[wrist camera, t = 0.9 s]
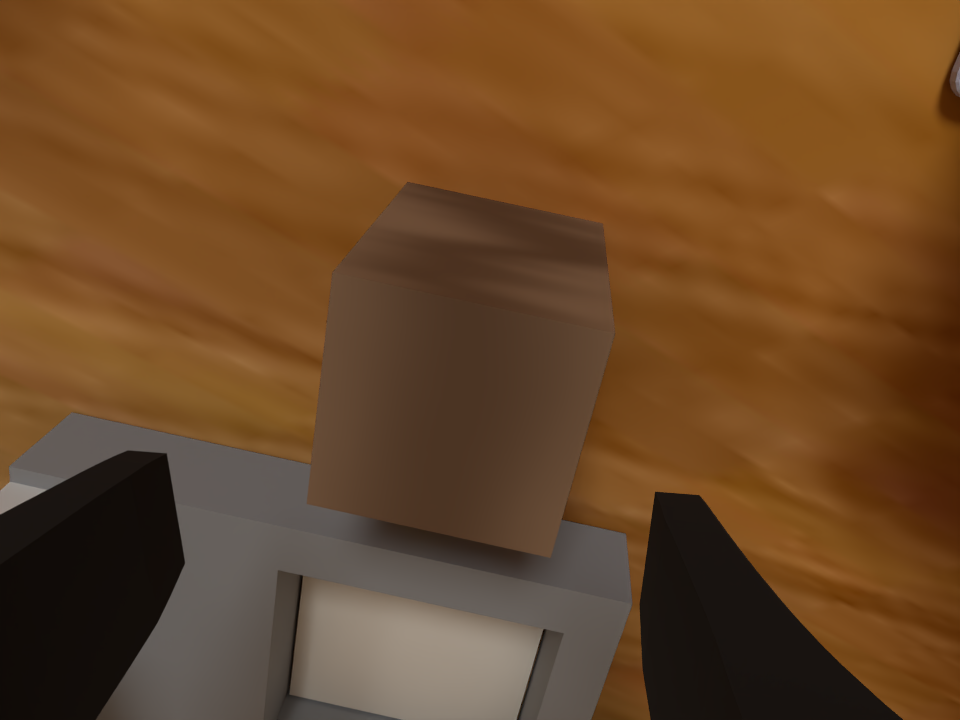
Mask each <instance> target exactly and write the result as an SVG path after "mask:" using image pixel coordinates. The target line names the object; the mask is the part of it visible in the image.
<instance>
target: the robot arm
mask: <svg viewBox="0 0 960 720" xmlns="http://www.w3.org/2000/svg"><path fill="white" fill-rule="evenodd" d="M950 86H951V90H952V91H953V92H954V93H955V95H956V96H958V97H960V53H959V55H958V57H957V60H956V62H955V64H954V67H953V69H952V72H951V76H950ZM184 565H185V558H184V552H183V546H182V540H181V535H180V529H179V523H178V517H177V511H176V505H175V499H174V493H173V487H172V481H171V475H170V469H169V463H168V457H167V453H157V452H144V451H131V450H127V451H125V452H123V453H120V454H118V455H115V456H113V457H111V458H109V459H107V460H105V461H102V462H100V463H98V464H96V465H94V466H92V467H90V468H88V469H86V470H84V471H82V472H80V473H79V474H77V475H75V476H73V477H71V478H69V479H67V480H65V481H63V482H61V483H59V484H57V485H56V486H54V487H52V488H50V489H48V490H46V491H44V492H42V493H40V494H38V495H36V496H35V497H33V498H31V499H29V500H27V501H25V502H23V503H21V504H19V505H17V506H15V507H13V508H11V509H10V510H8V511H6V512H4V513H2V514H0V720H96V719H97V717H98V716H99V714H100V713H101V711H102V709H103V708H104V706H105V705H106V703H107V702H108V700H109V699H110V697H111V696H112V694H113V692H114V691H115V689H116V688H117V686H118V685H119V683H120V682H121V680H122V679H123V677H124V676H125V674H126V672H127V671H128V669H129V668H130V666H131V665H132V663H133V661H134V660H135V658H136V657H137V655H138V654H139V652H140V650H141V649H142V647H143V646H144V644H145V642H146V641H147V639H148V638H149V636H150V634H151V633H152V631H153V630H154V628H155V626H156V625H157V623H158V621H159V619H160V617H161V615H162V613H163V611H164V609H165V607H166V605H167V603H168V601H169V599H170V596H171V594H172V592H173V590H174V587H175V585H176V583H177V581H178V578H179V576H180V574H181V572H182V569H183V567H184ZM640 623H641V645H642V664H643V674H644V680H645V687H646V693H647V699H648V705H649V711H650V717H651V720H903V719H902V718H900V717H899V716H898V715H897V714H896V713H895V712H893V711H892V710H891V709H890V708H889V707H887V706H886V705H885V704H884V703H883V702H882V701H881V700H879V699H878V698H877V697H876V696H875V695H874V694H873V693H872V692H871V691H870V690H869V689H867V688H866V687H865V686H864V685H863V684H862V683H861V682H860V681H859V680H858V679H857V678H855V677H854V676H853V675H852V674H851V673H850V672H849V671H848V670H847V669H846V668H845V667H843V666H842V665H841V664H840V663H839V662H838V661H837V660H836V659H835V658H834V657H833V656H832V655H831V654H830V653H829V652H828V651H827V650H826V649H825V648H824V647H823V646H822V645H821V644H820V643H819V642H818V641H817V640H816V638H815V637H814V636H813V635H812V634H811V633H810V632H809V631H808V630H807V629H806V628H805V627H804V626H803V625H802V624H801V622H800V621H799V620H798V619H797V618H796V617H795V616H794V615H793V613H792V612H791V611H790V610H789V609H788V608H787V607H786V605H785V604H784V603H783V602H782V601H781V600H780V598H779V597H778V596H777V595H776V594H775V592H774V591H773V590H772V589H771V588H770V586H769V585H768V584H767V583H766V582H765V580H764V579H763V578H762V577H761V576H760V574H759V573H758V572H757V571H756V569H755V568H754V567H753V566H752V564H751V563H750V562H749V561H748V559H747V558H746V557H745V555H744V554H743V553H742V551H741V550H740V549H739V547H738V546H737V545H736V544H735V542H734V541H733V540H732V538H731V537H730V536H729V534H728V533H727V531H726V530H725V529H724V527H723V526H722V525H721V523H720V522H719V521H718V519H717V518H716V516H715V515H714V514H713V512H712V511H711V509H710V508H709V507H708V505H707V504H706V503H705V501H704V500H703V499H702V498H701V497H700V496H699V495H689V494H677V493H664V492H655V498H654V505H653V512H652V519H651V527H650V534H649V541H648V548H647V555H646V563H645V570H644V577H643V584H642V592H641V599H640Z"/></svg>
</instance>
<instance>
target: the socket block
mask: <svg viewBox="0 0 960 720" xmlns="http://www.w3.org/2000/svg"><path fill="white" fill-rule="evenodd" d="M127 450H131V451H144V452H157V453H167V457H168V463H169V469H170V475H171V481H172V487H173V493H174V499H175V505H176V511H177V517H178V523H179V529H180V535H181V540H182V546H183V552H184V558H185V565H184V567H183V569H182V572H181V574H180V576H179V578H178V581H177V583H176V585H175V587H174V590H173V592H172V594H171V596H170V599H169V601H168V603H167V605H166V607H165V609H164V611H163V613H162V615H161V617H160V619H159V621H158V623H157V625H156V626H155V628H154V630H153V631H152V633H151V634H150V636H149V638H148V639H147V641H146V642H145V644H144V646H143V647H142V649H141V650H140V652H139V654H138V655H137V657H136V658H135V660H134V661H133V663H132V665H131V666H130V668H129V669H128V671H127V672H126V674H125V676H124V677H123V679H122V680H121V682H120V683H119V685H118V686H117V688H116V689H115V691H114V692H113V694H112V696H111V697H110V699H109V700H108V702H107V703H106V705H105V706H104V708H103V709H102V711H101V713H100V714H99V716H98V717H97V719H96V720H517V716H518V713H519V710H520V706H521V703H522V699H523V696H524V693H525V689H526V686H527V683H528V679H529V676H530V672H531V669H532V666H533V662H534V659H535V656H536V652H537V649H538V645H539V642H540V639H541V635H542V632H543V629H545V631H544V634H543V637H542V641H541V644H540V647H539V651H538V654H537V657H536V661H535V664H534V667H533V671H532V674H531V678H530V681H529V684H528V688H527V691H526V694H525V698H524V701H523V704H522V708H521V711H520V714H519V718H518V720H591V719H592V716H593V713H594V711H595V708H596V705H597V702H598V699H599V696H600V694H601V691H602V688H603V685H604V682H605V680H606V677H607V674H608V671H609V668H610V665H611V663H612V660H613V657H614V654H615V651H616V649H617V646H618V643H619V640H620V637H621V635H622V632H623V629H624V626H625V623H626V620H627V618H628V615H629V612H630V609H631V606H632V594H631V584H630V573H629V562H628V552H627V541H626V534H624V533H620V532H615V531H610V530H606V529H601V528H597V527H592V526H588V525H583V524H578V523H574V522H569V521H565V520H561V524H560V527H559V531H558V534H557V538H556V541H555V545H554V548H553V551H552V555H551V558H549V557H544V556H540V555H535V554H531V553H526V552H521V551H517V550H512V549H508V548H503V547H499V546H494V545H490V544H485V543H481V542H476V541H472V540H467V539H463V538H458V537H454V536H449V535H444V534H440V533H435V532H431V531H426V530H422V529H417V528H413V527H408V526H404V525H399V524H395V523H390V522H386V521H381V520H377V519H372V518H367V517H363V516H358V515H354V514H349V513H345V512H340V511H336V510H331V509H327V508H322V507H318V506H313V505H309V504H307V495H308V486H309V477H310V468H311V465H309V464H305V463H300V462H296V461H291V460H286V459H282V458H277V457H273V456H268V455H264V454H259V453H254V452H250V451H245V450H241V449H236V448H232V447H227V446H223V445H218V444H213V443H209V442H204V441H200V440H195V439H191V438H186V437H181V436H177V435H172V434H168V433H163V432H159V431H154V430H150V429H145V428H140V427H136V426H131V425H127V424H122V423H118V422H113V421H108V420H104V419H99V418H95V417H90V416H86V415H81V414H77V413H71V414H70V415H68V416H67V417H66V418H65V419H64V420H63V421H61V422H60V423H59V424H58V425H57V426H56V427H54V428H53V429H52V430H51V431H50V432H49V433H47V434H46V435H45V436H44V437H43V438H42V439H40V440H39V441H38V442H37V443H36V444H35V445H33V446H32V447H31V448H30V449H29V450H28V451H26V452H25V453H24V454H23V455H22V456H21V457H19V458H18V459H17V460H16V461H15V462H14V463H12V464H11V465H10V466H9V473H10V482H9V483H8V484H7V485H6V486H5V487H4V488H3V489H2V490H0V514H2V513H4V512H6V511H8V510H10V509H11V508H13V507H15V506H17V505H19V504H21V503H23V502H25V501H27V500H29V499H31V498H33V497H35V496H36V495H38V494H40V493H42V492H44V491H46V490H48V489H50V488H52V487H54V486H56V485H57V484H59V483H61V482H63V481H65V480H67V479H69V478H71V477H73V476H75V475H77V474H79V473H80V472H82V471H84V470H86V469H88V468H90V467H92V466H94V465H96V464H98V463H100V462H102V461H105V460H107V459H109V458H111V457H113V456H115V455H118V454H120V453H123V452H125V451H127ZM302 575H303V581H302ZM301 581H302V590H301ZM300 590H301V599H300ZM299 599H300V607H299ZM298 607H299V616H298ZM297 616H298V624H297ZM296 625H297V633H296ZM295 633H296V642H295ZM294 642H295V650H294ZM293 651H294V659H293ZM292 659H293V668H292ZM291 668H292V676H291ZM290 677H291V685H290ZM289 685H290V689H289Z"/></svg>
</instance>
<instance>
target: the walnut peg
mask: <svg viewBox="0 0 960 720" xmlns="http://www.w3.org/2000/svg"><path fill="white" fill-rule="evenodd" d="M614 336H615V328H614V319H613V310H612V301H611V292H610V283H609V274H608V265H607V257H606V248H605V239H604V230H603V224H602V223H597V222H593V221H588V220H583V219H579V218H574V217H569V216H565V215H560V214H555V213H551V212H546V211H541V210H537V209H532V208H527V207H523V206H518V205H513V204H508V203H504V202H499V201H494V200H490V199H485V198H480V197H476V196H471V195H466V194H462V193H457V192H452V191H448V190H443V189H438V188H434V187H429V186H424V185H420V184H415V183H410V182H407V183H406V185H405V186H404V187H403V188H402V190H401V191H400V192H399V193H398V194H397V196H396V197H395V198H394V199H393V200H392V202H391V203H390V204H389V205H388V206H387V208H386V209H385V210H384V211H383V212H382V214H381V215H380V216H379V217H378V218H377V220H376V221H375V222H374V223H373V224H372V226H371V227H370V228H369V229H368V230H367V232H366V233H365V234H364V235H363V236H362V238H361V239H360V240H359V241H358V242H357V244H356V245H355V246H354V247H353V248H352V250H351V251H350V252H349V253H348V254H347V256H346V257H345V258H344V259H343V260H342V262H341V263H340V264H339V265H338V266H337V268H336V269H335V270H334V271H333V273H332V282H331V291H330V300H329V309H328V317H327V326H326V335H325V344H324V353H323V362H322V371H321V380H320V388H319V397H318V406H317V415H316V424H315V433H314V442H313V451H312V459H311V468H310V477H309V486H308V495H307V504H309V505H313V506H318V507H322V508H327V509H331V510H336V511H340V512H345V513H349V514H354V515H358V516H363V517H367V518H372V519H377V520H381V521H386V522H390V523H395V524H399V525H404V526H408V527H413V528H417V529H422V530H426V531H431V532H435V533H440V534H444V535H449V536H454V537H458V538H463V539H467V540H472V541H476V542H481V543H485V544H490V545H494V546H499V547H503V548H508V549H512V550H517V551H521V552H526V553H531V554H535V555H540V556H544V557H549V558H551V555H552V551H553V548H554V545H555V541H556V538H557V534H558V531H559V527H560V524H561V520H562V517H563V513H564V510H565V506H566V503H567V499H568V496H569V492H570V489H571V485H572V482H573V478H574V475H575V471H576V468H577V464H578V461H579V458H580V454H581V451H582V447H583V444H584V440H585V437H586V433H587V430H588V426H589V423H590V419H591V416H592V412H593V409H594V405H595V402H596V398H597V395H598V391H599V388H600V384H601V381H602V377H603V374H604V371H605V367H606V364H607V360H608V357H609V353H610V350H611V346H612V343H613V339H614Z"/></svg>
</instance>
